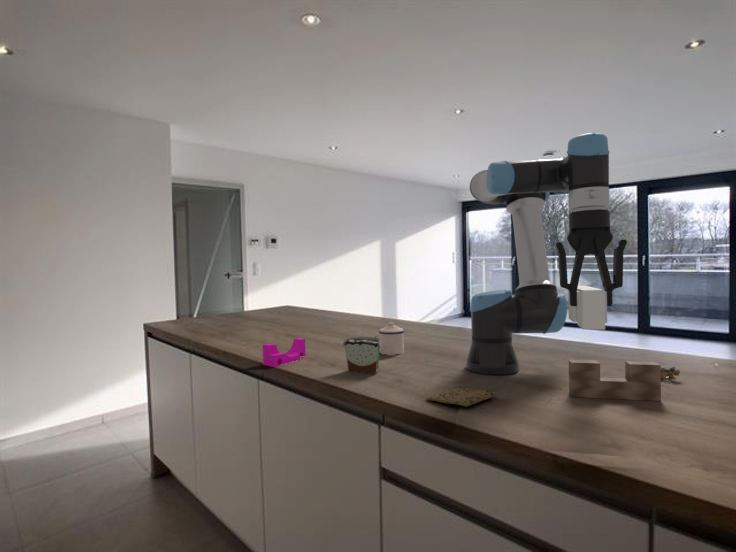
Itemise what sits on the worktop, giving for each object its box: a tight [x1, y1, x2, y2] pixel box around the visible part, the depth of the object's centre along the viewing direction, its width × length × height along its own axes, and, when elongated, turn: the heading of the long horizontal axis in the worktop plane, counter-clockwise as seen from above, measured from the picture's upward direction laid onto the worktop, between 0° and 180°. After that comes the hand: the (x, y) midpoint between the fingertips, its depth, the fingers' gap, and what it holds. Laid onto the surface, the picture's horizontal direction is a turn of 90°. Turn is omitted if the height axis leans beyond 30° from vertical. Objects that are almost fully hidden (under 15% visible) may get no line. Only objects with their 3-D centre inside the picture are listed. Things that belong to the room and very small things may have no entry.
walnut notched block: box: [568, 359, 662, 402], centre depth 95 cm, size 18×3×8 cm, turn 75°
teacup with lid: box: [373, 321, 405, 356], centre depth 149 cm, size 12×9×12 cm
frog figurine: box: [660, 366, 681, 384], centre depth 110 cm, size 12×12×4 cm
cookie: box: [425, 387, 498, 408], centre depth 97 cm, size 12×12×2 cm
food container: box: [342, 336, 382, 375], centre depth 126 cm, size 12×6×10 cm, turn 65°
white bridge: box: [567, 285, 606, 331], centre depth 93 cm, size 18×4×8 cm, turn 163°
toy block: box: [262, 337, 306, 368], centre depth 139 cm, size 15×6×8 cm, turn 139°
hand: (591, 321), depth 87 cm, fingers closed on white bridge, 4 cm apart
